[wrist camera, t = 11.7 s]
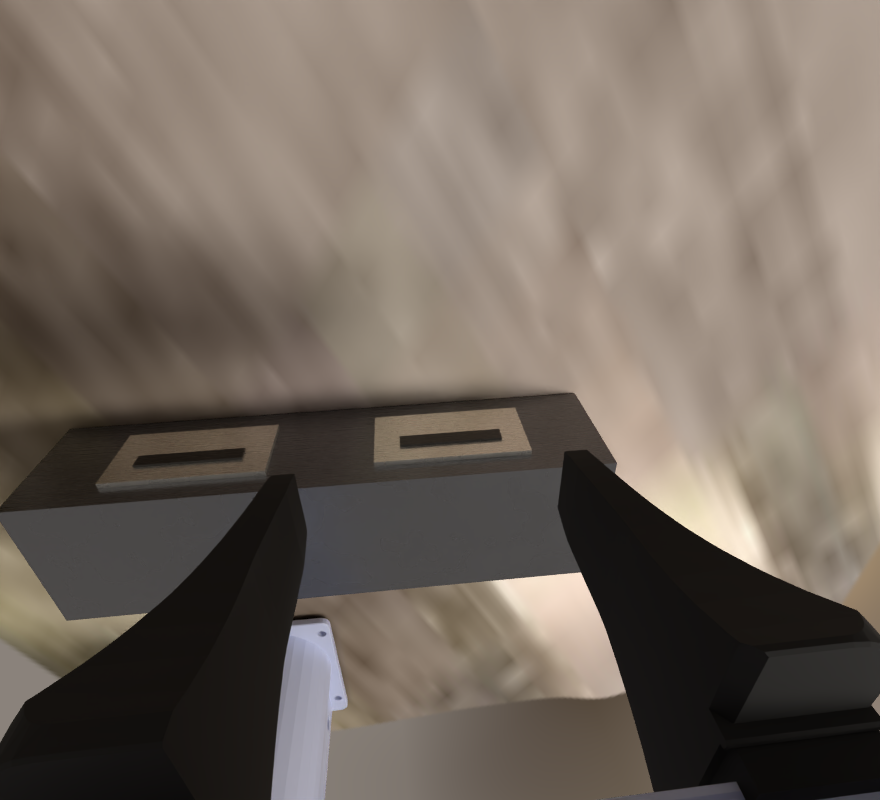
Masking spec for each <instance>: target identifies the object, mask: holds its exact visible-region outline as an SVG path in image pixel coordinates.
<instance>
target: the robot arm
mask: <svg viewBox="0 0 880 800" xmlns="http://www.w3.org/2000/svg"><path fill="white" fill-rule="evenodd" d="M558 511H559V515H560V518H561V522H562V525H563V529H564V532H565V535H566V538H567V541H568V544H569V546H570V548H571V551H572V553H573V555H574V558H575V560H576V562H577V564H578V567H579V569H580V571H581V573H582V576H583V578H584V580H585V582H586V584H587V587H588V589H589V591H590V593H591V596H592V598H593V600H594V602H595V605H596V607H597V609H598V611H599V613H600V616H601V618H602V621H603V624H604V626H605V629H606V631H607V634H608V637H609V640H610V643H611V646H612V649H613V652H614V655H615V658H616V661H617V664H618V668H619V671H620V674H621V677H622V680H623V684H624V687H625V690H626V693H627V697H628V700H629V703H630V707H631V710H632V713H633V717H634V720H635V724H636V727H637V731H638V734H639V738H640V741H641V745H642V748H643V752H644V756H645V760H646V763H647V767H648V771H649V775H650V779H651V783H652V787H653V790H654V792H653V793H645V794H637V795H629V796H622V797H614V798H606V799H599V800H880V731H879V730H880V716H879V714H878V713H877V712H876V711H875V709H874V708H873V707H872V706H871V705H872V703H873V702H874V701H875V699H876V698H877V697H878V696H879V694H880V635H879V633H878V632H877V631H876V630H875V629H874V628H873V627H872V625H871V624H870V623H869V622H868V621H867V620H866V619H865V618H864V617H863V616H862V615H861V614H860V613H859V612H858V611H857V610H855V609H852V608H849V607H847V606H844V605H842V604H839V603H836V602H834V601H831V600H829V599H826V598H823V597H821V596H818V595H816V594H813V593H810V592H808V591H805V590H803V589H801V588H798V587H796V586H794V585H792V584H790V583H787V582H785V581H783V580H781V579H778V578H776V577H774V576H772V575H770V574H768V573H766V572H763V571H761V570H759V569H757V568H755V567H753V566H751V565H749V564H747V563H746V562H744V561H742V560H740V559H738V558H736V557H734V556H732V555H730V554H729V553H727V552H725V551H723V550H721V549H720V548H718V547H716V546H714V545H713V544H711V543H709V542H708V541H706V540H705V539H703V538H701V537H700V536H698V535H696V534H695V533H693V532H692V531H690V530H688V529H687V528H685V527H684V526H682V525H681V524H679V523H678V522H676V521H675V520H674V519H672V518H671V517H669V516H668V515H667V514H665V513H664V512H663V511H661V510H660V509H658V508H657V507H656V506H654V505H653V504H652V503H650V502H649V501H648V500H646V499H645V498H644V497H643V496H641V495H640V494H639V493H638V492H636V491H635V490H634V489H633V488H631V487H630V486H629V485H628V484H627V483H625V482H624V481H623V480H622V479H621V478H619V477H618V476H617V475H616V474H615V473H614V472H612V471H611V470H610V469H609V468H608V467H607V466H605V465H604V464H603V463H602V462H601V461H600V460H599V459H597V458H596V457H595V456H594V455H593V454H591V453H590V452H589V451H588V450H575V451H565V452H564V460H563V468H562V476H561V484H560V492H559V500H558ZM306 541H307V527H306V522H305V518H304V513H303V509H302V505H301V500H300V496H299V492H298V487H297V483H296V478H295V474H284V475H272V476H270V477H269V478H268V479H267V480H266V482H265V483H264V484H263V486H262V487H261V489H260V490H259V491H258V493H257V494H256V496H255V497H254V498H253V500H252V501H251V502H250V504H249V505H248V506H247V508H246V509H245V510H244V512H243V513H242V514H241V516H240V517H239V518H238V519H237V521H236V522H235V523H234V524H233V526H232V527H231V528H230V529H229V531H228V532H227V533H226V534H225V536H224V537H223V538H222V539H221V540H220V542H219V543H218V544H217V545H216V546H215V547H214V548H213V550H212V551H211V552H210V553H209V554H208V555H207V556H206V558H205V559H204V560H203V561H202V562H201V563H200V564H199V565H198V566H197V568H196V569H195V570H194V571H193V572H192V573H191V574H190V575H189V576H188V577H187V578H186V579H185V580H184V581H183V582H182V583H181V584H180V585H179V586H178V587H177V588H176V589H175V590H174V591H173V592H172V593H171V594H170V595H168V596H167V597H166V598H165V599H164V600H163V601H162V602H161V603H159V604H158V605H157V606H156V607H155V608H154V609H152V610H151V611H150V612H149V613H148V614H147V615H145V616H144V617H143V618H142V619H141V620H140V621H138V622H137V623H136V624H135V625H134V626H132V627H131V628H130V629H129V630H127V631H126V632H125V633H124V634H122V635H121V636H120V637H118V638H117V639H116V640H115V641H113V642H112V643H111V644H109V645H108V646H107V647H105V648H104V649H103V650H101V651H100V652H98V653H97V654H96V655H94V656H93V657H92V658H90V659H89V660H87V661H86V662H85V663H83V664H82V665H80V666H79V667H77V668H76V669H74V670H73V671H71V672H70V673H68V674H67V675H65V676H64V677H62V678H61V679H59V680H58V681H56V682H55V683H53V684H52V685H50V686H49V687H47V688H46V689H44V690H43V691H41V692H40V693H38V694H37V695H35V696H34V697H32V698H30V699H29V700H27V701H26V702H25V703H24V705H23V706H22V708H21V709H20V711H19V712H18V714H17V715H16V717H15V719H14V720H13V722H12V723H11V725H10V726H9V728H8V730H7V732H6V734H5V736H4V737H3V739H2V741H1V742H0V800H325V791H326V778H327V767H328V754H329V742H330V731H331V719H332V711H335V710H342V709H345V708H346V707H347V703H348V699H347V695H346V691H345V686H344V682H343V678H342V673H341V669H340V664H339V660H338V656H337V651H336V647H335V642H334V638H333V634H332V629H331V625H330V622H329V620H327V619H325V618H314V619H304V620H293V617H294V612H295V608H296V603H297V599H298V594H299V589H300V584H301V580H302V575H303V570H304V564H305V553H306Z"/></svg>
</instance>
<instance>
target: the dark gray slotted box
mask: <svg viewBox="0 0 880 800" xmlns="http://www.w3.org/2000/svg"><path fill="white" fill-rule="evenodd" d="M575 450H588V451H589V452H590V453H591V454H593V455H594V456H595V457H596V458H597V459H599V460H600V461H601V462H602V463H603V464H604V465H605V466H607V467H608V468H609V469H610V470H611V471H612V472H614V473H615V470H616V465H617V462H616V461H615V459H614V457H613V456H612V454H611V452H610V451H609V449H608V447H607V446H606V444H605V443H604V441H603V439H602V438H601V436H600V434H599V433H598V431H597V429H596V428H595V426H594V424H593V423H592V421H591V420H590V418H589V416H588V415H587V413H586V411H585V410H584V408H583V406H582V405H581V403H580V401H579V400H578V398H577V396H576V395H575V393H573V394H559V395H545V396H531V397H517V398H503V399H489V400H475V401H461V402H447V403H433V404H419V405H404V406H390V407H376V408H362V409H348V410H334V411H320V412H306V413H292V414H278V415H264V416H250V417H236V418H221V419H207V420H193V421H179V422H165V423H151V424H137V425H123V426H109V427H95V428H81V429H70V430H69V431H68V432H67V433H66V434H65V435H64V436H63V438H62V439H61V440H60V441H59V442H58V443H57V444H56V445H55V446H54V448H53V449H52V450H51V451H50V452H49V453H48V454H47V455H46V456H45V458H44V459H43V460H42V461H41V462H40V463H39V464H38V465H37V466H36V468H35V469H34V470H33V471H32V472H31V473H30V474H29V475H28V476H27V478H26V479H25V480H24V481H23V482H22V483H21V484H20V485H19V486H18V487H17V489H16V490H15V491H14V492H13V493H12V494H11V495H10V496H9V497H8V499H7V500H6V501H5V502H4V503H3V504H2V505H1V506H0V522H1V524H2V525H3V527H4V528H5V530H6V531H7V532H8V534H9V535H10V537H11V538H12V540H13V541H14V543H15V544H16V546H17V547H18V549H19V550H20V552H21V553H22V555H23V556H24V558H25V559H26V561H27V562H28V564H29V565H30V567H31V568H32V570H33V571H34V573H35V574H36V576H37V577H38V579H39V580H40V582H41V583H42V585H43V586H44V588H45V589H46V591H47V592H48V594H49V595H50V596H51V598H52V599H53V601H54V602H55V604H56V605H57V607H58V608H59V610H60V611H61V613H62V614H63V616H64V617H65V619H66V620H67V621H68V620H78V619H89V618H100V617H110V616H121V615H132V614H142V613H149V612H150V611H151V610H152V609H154V608H155V607H156V606H157V605H158V604H159V603H161V602H162V601H163V600H164V599H165V598H166V597H167V596H168V595H170V594H171V593H172V592H173V591H174V590H175V589H176V588H177V587H178V586H179V585H180V584H181V583H182V582H183V581H184V580H185V579H186V578H187V577H188V576H189V575H190V574H191V573H192V572H193V571H194V570H195V569H196V568H197V566H198V565H199V564H200V563H201V562H202V561H203V560H204V559H205V558H206V556H207V555H208V554H209V553H210V552H211V551H212V550H213V548H214V547H215V546H216V545H217V544H218V543H219V542H220V540H221V539H222V538H223V537H224V536H225V534H226V533H227V532H228V531H229V529H230V528H231V527H232V526H233V524H234V523H235V522H236V521H237V519H238V518H239V517H240V516H241V514H242V513H243V512H244V510H245V509H246V508H247V506H248V505H249V504H250V502H251V501H252V500H253V498H254V497H255V496H256V494H257V493H258V491H259V490H260V489H261V487H262V486H263V484H264V483H265V482H266V480H267V479H268V478H269V477H270V476H272V475H284V474H295V478H296V483H297V487H298V492H299V496H300V500H301V505H302V509H303V513H304V518H305V522H306V527H307V541H306V553H305V564H304V570H303V575H302V580H301V584H300V589H299V594H298V599H302V598H312V597H323V596H333V595H344V594H355V593H365V592H376V591H387V590H397V589H408V588H418V587H429V586H440V585H450V584H461V583H472V582H482V581H493V580H503V579H514V578H525V577H535V576H546V575H556V574H567V573H578V572H581V571H580V569H579V567H578V564H577V562H576V560H575V558H574V555H573V553H572V551H571V548H570V546H569V544H568V541H567V538H566V535H565V532H564V529H563V525H562V522H561V518H560V515H559V511H558V500H559V492H560V484H561V476H562V468H563V460H564V452H565V451H575Z"/></svg>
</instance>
